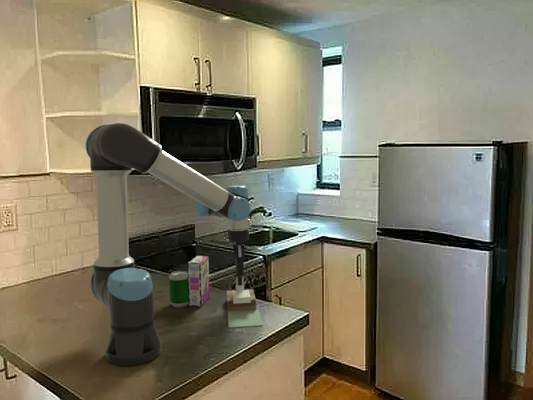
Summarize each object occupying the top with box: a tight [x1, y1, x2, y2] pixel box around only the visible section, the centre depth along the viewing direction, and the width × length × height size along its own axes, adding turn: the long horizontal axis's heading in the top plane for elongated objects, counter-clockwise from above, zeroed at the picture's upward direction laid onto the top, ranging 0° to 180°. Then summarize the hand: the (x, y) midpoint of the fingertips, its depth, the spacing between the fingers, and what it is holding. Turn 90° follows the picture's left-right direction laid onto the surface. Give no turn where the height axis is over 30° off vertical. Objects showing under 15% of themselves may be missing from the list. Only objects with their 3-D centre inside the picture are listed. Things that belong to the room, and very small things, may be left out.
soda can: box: [168, 270, 189, 308], centre depth 168 cm, size 8×8×12 cm
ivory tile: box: [232, 289, 251, 304], centre depth 161 cm, size 8×6×2 cm
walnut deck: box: [226, 288, 257, 312], centre depth 166 cm, size 12×10×4 cm
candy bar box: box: [187, 255, 210, 308], centre depth 171 cm, size 11×5×16 cm, turn 171°
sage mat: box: [227, 309, 264, 329], centre depth 154 cm, size 14×11×1 cm
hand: (240, 293), depth 166 cm, fingers closed
